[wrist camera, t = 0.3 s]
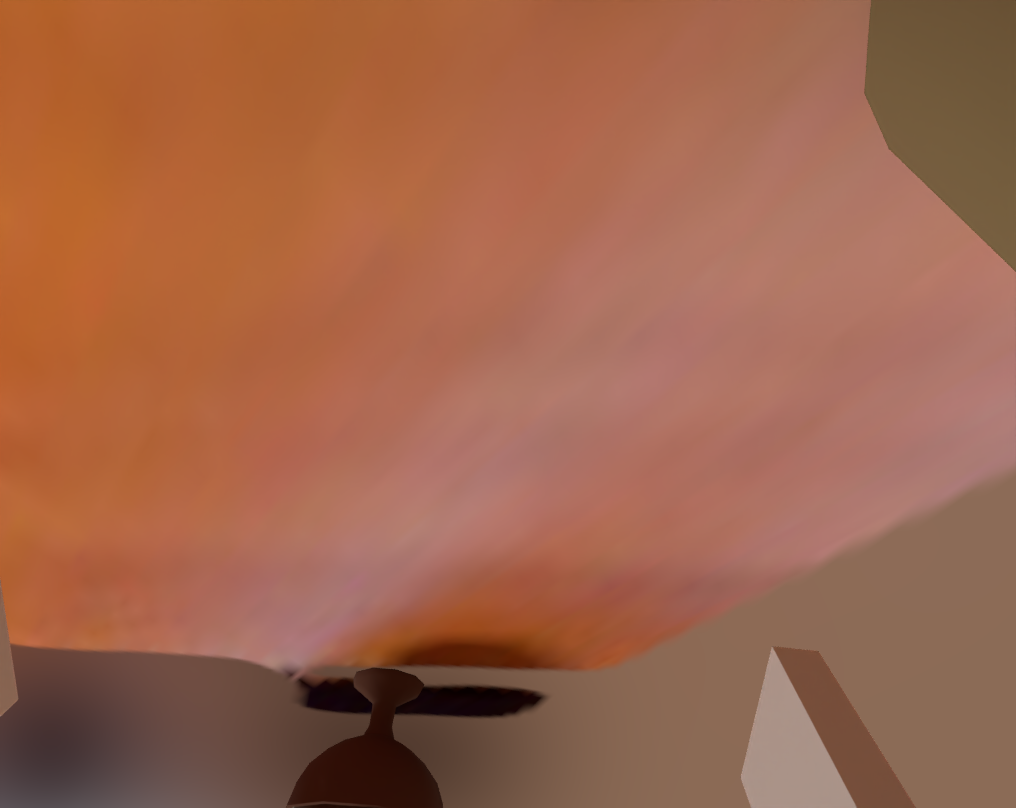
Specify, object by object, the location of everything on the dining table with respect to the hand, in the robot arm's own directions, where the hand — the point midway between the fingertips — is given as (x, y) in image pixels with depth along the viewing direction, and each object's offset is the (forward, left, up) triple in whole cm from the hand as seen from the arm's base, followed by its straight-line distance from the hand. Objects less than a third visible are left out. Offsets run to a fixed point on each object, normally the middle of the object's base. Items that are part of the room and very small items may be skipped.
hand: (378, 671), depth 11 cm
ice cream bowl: (+42, -6, -15) cm, 45 cm away
